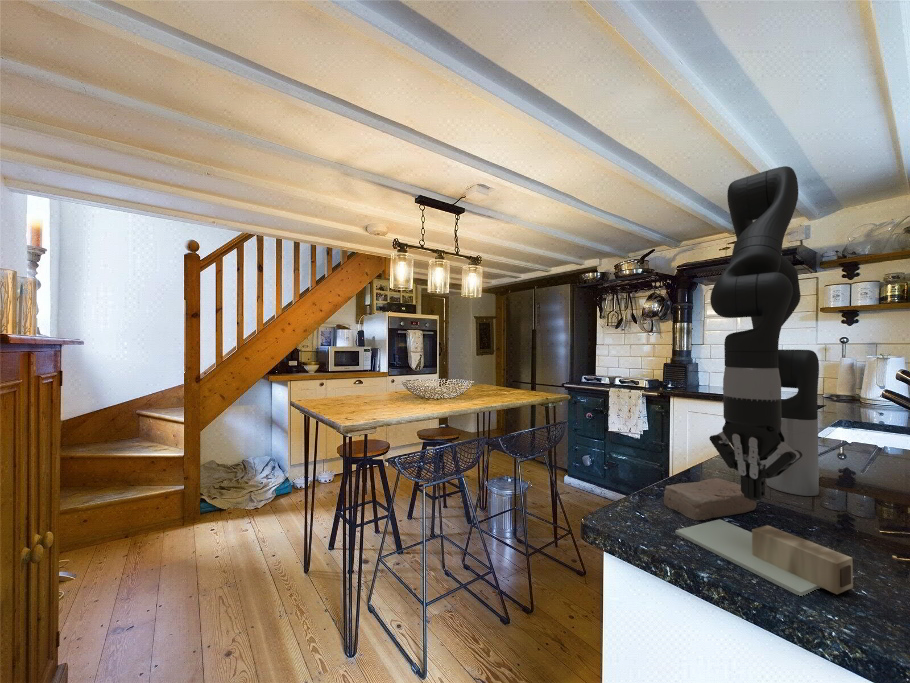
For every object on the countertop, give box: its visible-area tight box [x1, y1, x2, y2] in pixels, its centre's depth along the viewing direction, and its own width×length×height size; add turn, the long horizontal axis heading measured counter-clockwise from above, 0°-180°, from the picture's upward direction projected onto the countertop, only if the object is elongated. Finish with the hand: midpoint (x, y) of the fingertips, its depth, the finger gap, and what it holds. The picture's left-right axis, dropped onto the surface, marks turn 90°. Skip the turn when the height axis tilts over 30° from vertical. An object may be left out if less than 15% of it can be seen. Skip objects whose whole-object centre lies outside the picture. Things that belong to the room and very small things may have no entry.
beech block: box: [751, 524, 854, 595], centre depth 54 cm, size 4×4×10 cm
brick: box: [663, 477, 757, 521], centre depth 77 cm, size 17×8×5 cm, turn 107°
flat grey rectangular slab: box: [675, 519, 823, 597], centre depth 60 cm, size 12×18×1 cm, turn 22°
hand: (752, 498), depth 61 cm, fingers closed
